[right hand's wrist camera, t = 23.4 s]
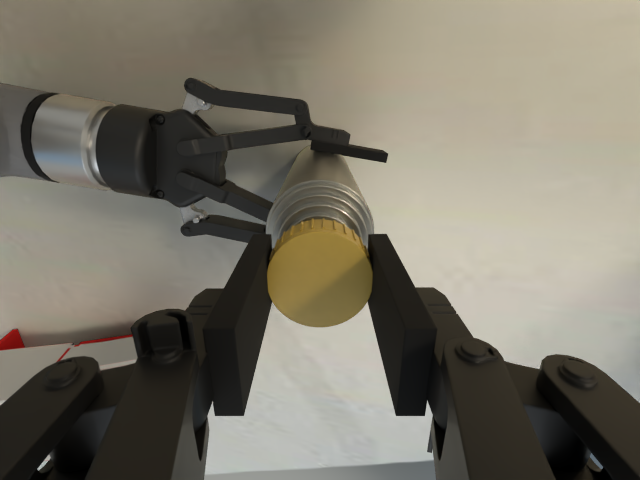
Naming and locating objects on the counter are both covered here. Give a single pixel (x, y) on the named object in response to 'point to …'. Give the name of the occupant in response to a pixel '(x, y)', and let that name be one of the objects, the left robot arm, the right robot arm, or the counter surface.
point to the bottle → (319, 196)
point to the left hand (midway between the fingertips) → (375, 192)
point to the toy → (56, 358)
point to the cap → (319, 273)
